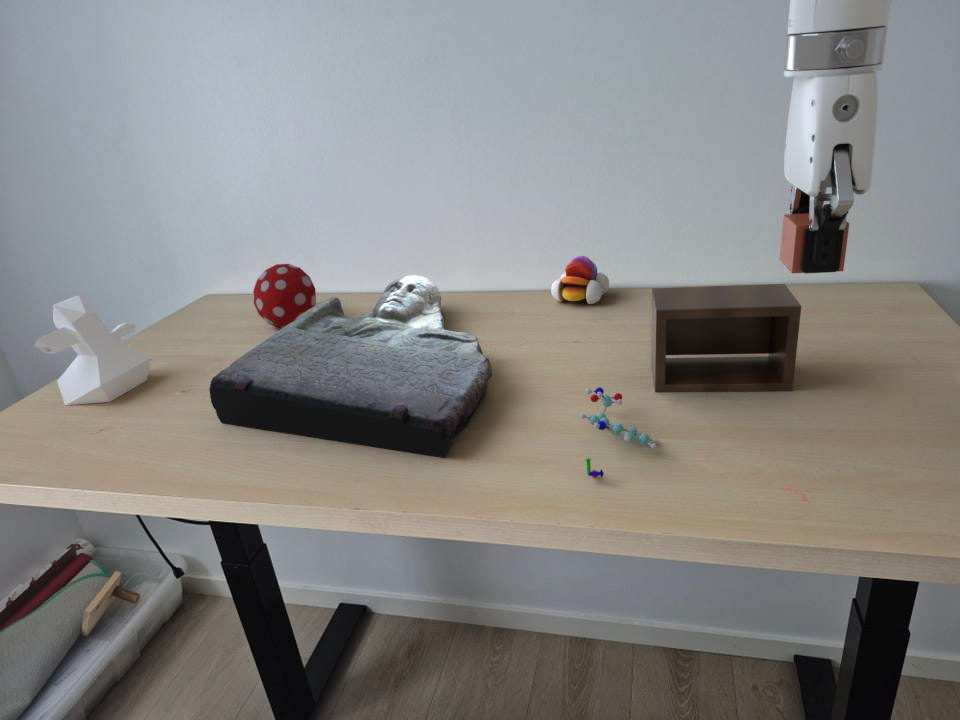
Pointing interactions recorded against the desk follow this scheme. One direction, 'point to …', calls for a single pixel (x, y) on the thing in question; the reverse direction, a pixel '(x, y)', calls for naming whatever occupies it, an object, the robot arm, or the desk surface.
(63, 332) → the white animal head
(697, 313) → the shelf
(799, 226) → the box
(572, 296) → the rainbow toy buggy
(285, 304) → the red polka dot ball
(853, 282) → the desk surface
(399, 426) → the bust sculpture
